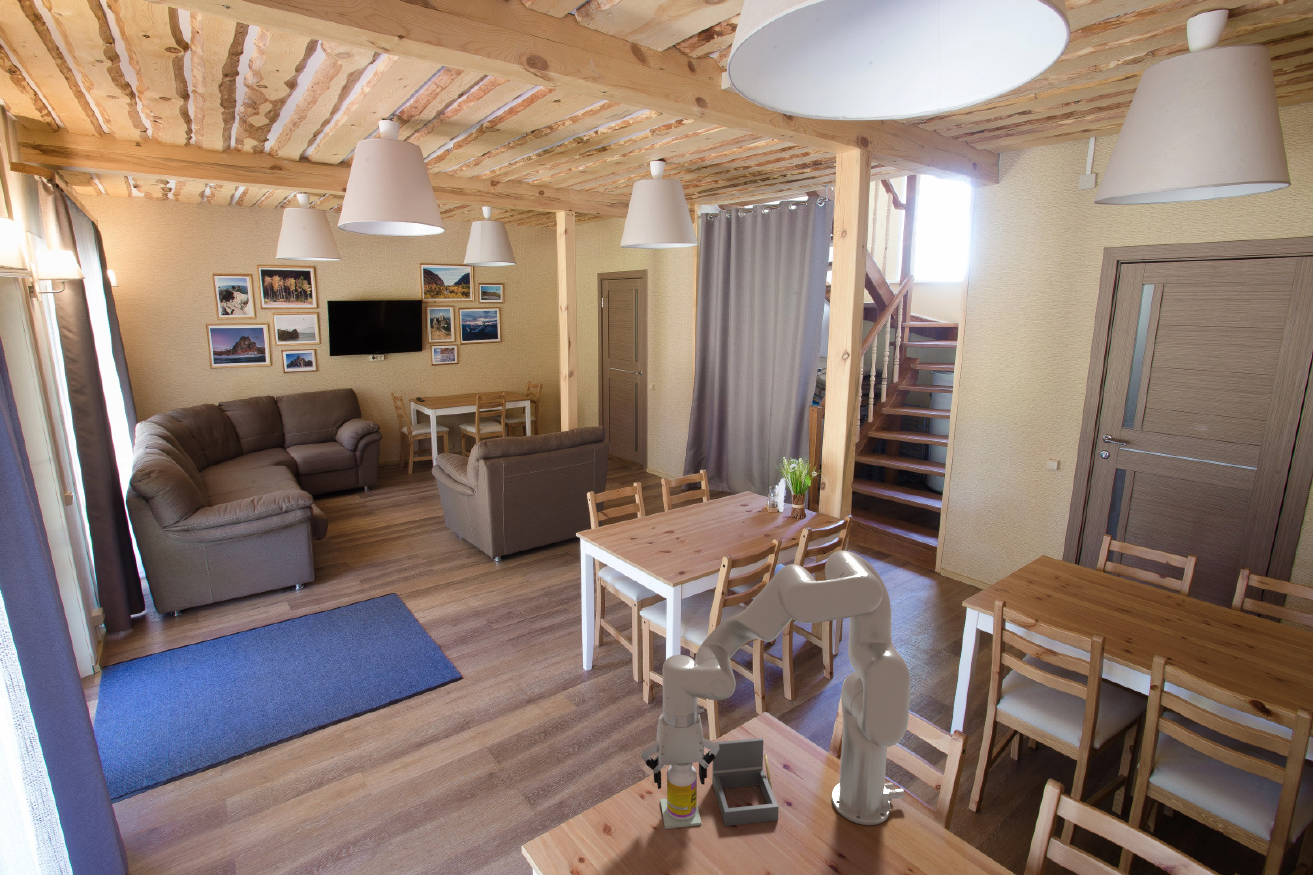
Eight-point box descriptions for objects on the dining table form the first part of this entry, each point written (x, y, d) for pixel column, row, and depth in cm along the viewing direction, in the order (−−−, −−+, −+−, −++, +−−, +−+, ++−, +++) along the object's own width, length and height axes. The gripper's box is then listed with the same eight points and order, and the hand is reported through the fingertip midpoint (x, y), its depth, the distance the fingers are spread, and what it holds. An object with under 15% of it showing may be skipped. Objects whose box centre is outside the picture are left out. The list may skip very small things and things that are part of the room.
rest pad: (694, 797, 147) (694, 795, 147) (701, 824, 139) (701, 822, 139) (660, 801, 146) (660, 798, 146) (665, 828, 138) (665, 826, 138)
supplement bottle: (694, 823, 139) (694, 771, 136) (664, 819, 140) (664, 767, 138) (698, 801, 145) (698, 751, 143) (669, 797, 146) (669, 747, 144)
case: (765, 778, 153) (766, 737, 151) (782, 819, 140) (783, 775, 138) (712, 783, 151) (712, 742, 149) (724, 825, 139) (725, 781, 137)
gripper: (715, 699, 143) (714, 766, 146) (638, 705, 141) (639, 774, 144) (723, 720, 135) (722, 790, 139) (642, 727, 133) (643, 798, 136)
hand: (680, 782), depth 141 cm, fingers open, 9 cm apart
